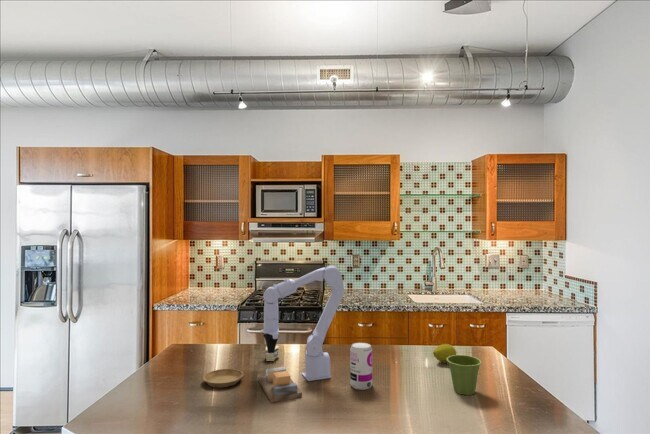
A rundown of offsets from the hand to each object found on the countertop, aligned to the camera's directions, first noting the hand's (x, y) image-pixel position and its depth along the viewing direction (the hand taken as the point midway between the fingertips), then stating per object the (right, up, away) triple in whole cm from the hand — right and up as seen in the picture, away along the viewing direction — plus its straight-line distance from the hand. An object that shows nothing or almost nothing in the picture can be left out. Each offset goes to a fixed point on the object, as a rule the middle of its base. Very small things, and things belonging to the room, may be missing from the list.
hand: (271, 352), depth 159 cm
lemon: (+73, -10, +16) cm, 76 cm away
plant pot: (+71, -9, -14) cm, 73 cm away
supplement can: (+35, -10, -9) cm, 37 cm away
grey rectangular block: (+3, -8, -7) cm, 11 cm away
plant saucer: (-17, -10, -5) cm, 21 cm away
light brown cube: (+6, -8, -15) cm, 18 cm away
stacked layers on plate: (-2, -10, +20) cm, 23 cm away
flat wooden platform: (+4, -9, -11) cm, 15 cm away
